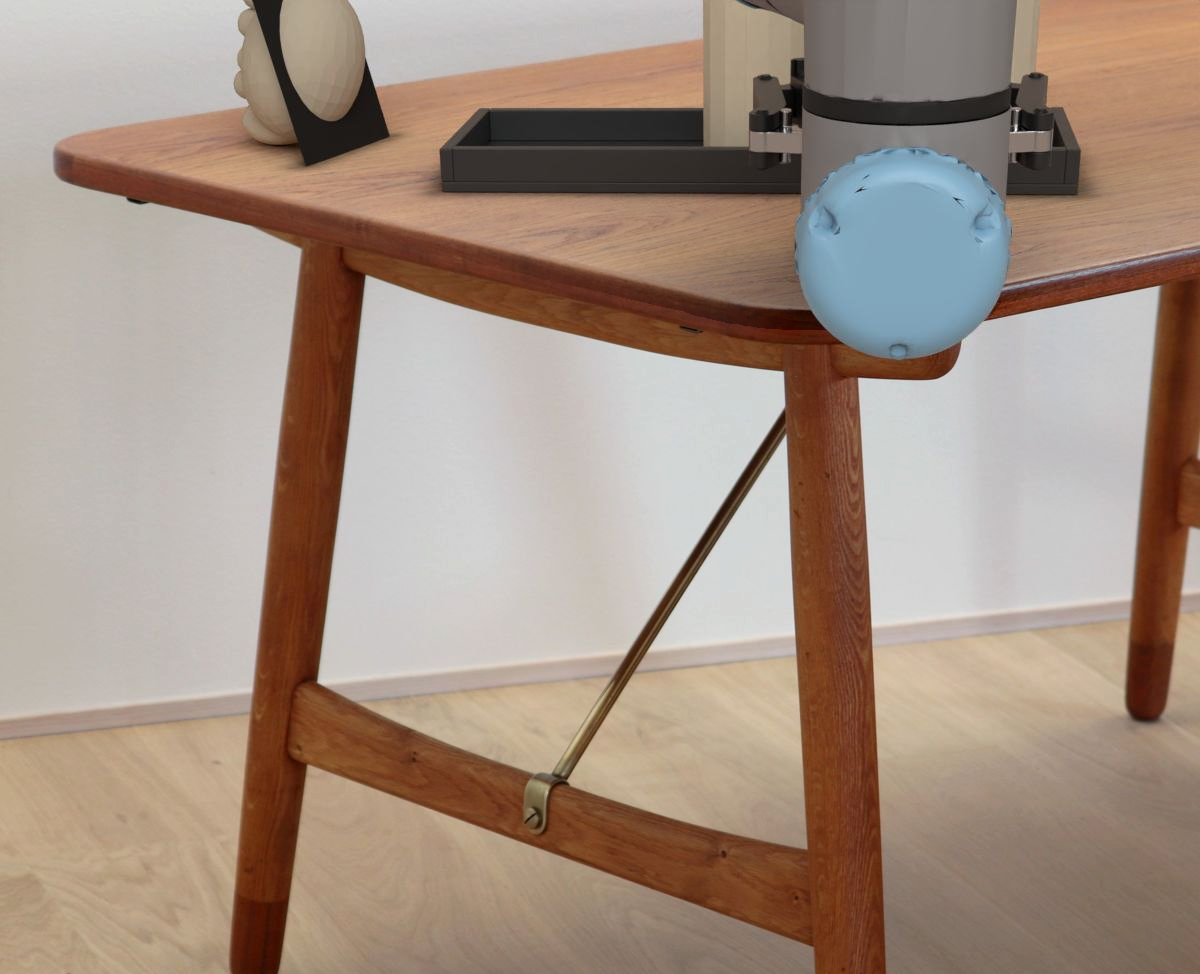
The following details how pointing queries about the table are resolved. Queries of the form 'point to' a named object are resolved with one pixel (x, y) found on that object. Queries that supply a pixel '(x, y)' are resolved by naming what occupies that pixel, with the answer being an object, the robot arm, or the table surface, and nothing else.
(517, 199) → the table surface
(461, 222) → the table surface
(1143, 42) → the table surface
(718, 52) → the cream bottle mid
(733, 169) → the tray
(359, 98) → the decorative object
